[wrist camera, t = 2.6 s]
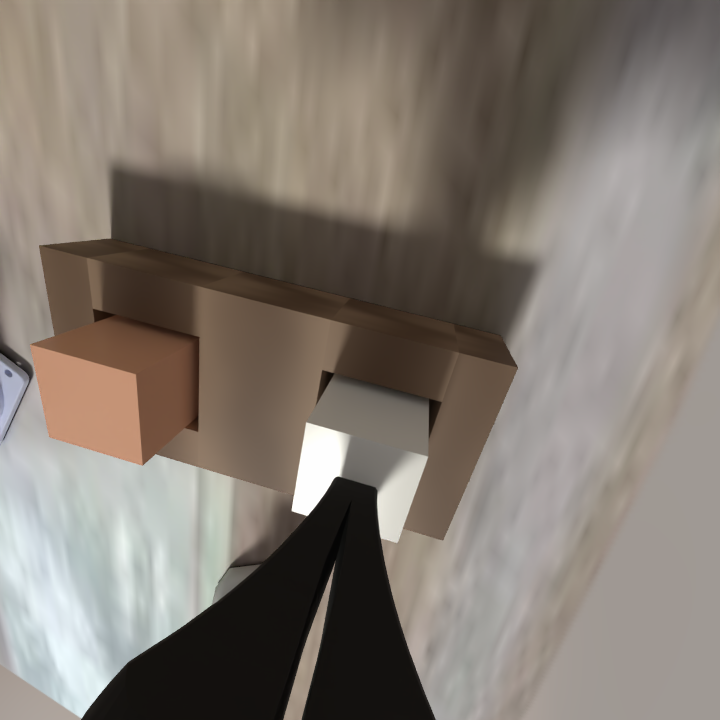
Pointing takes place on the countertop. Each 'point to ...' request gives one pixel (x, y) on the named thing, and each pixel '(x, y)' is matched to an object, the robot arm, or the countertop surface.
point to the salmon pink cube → (118, 386)
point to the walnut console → (289, 362)
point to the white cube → (365, 447)
